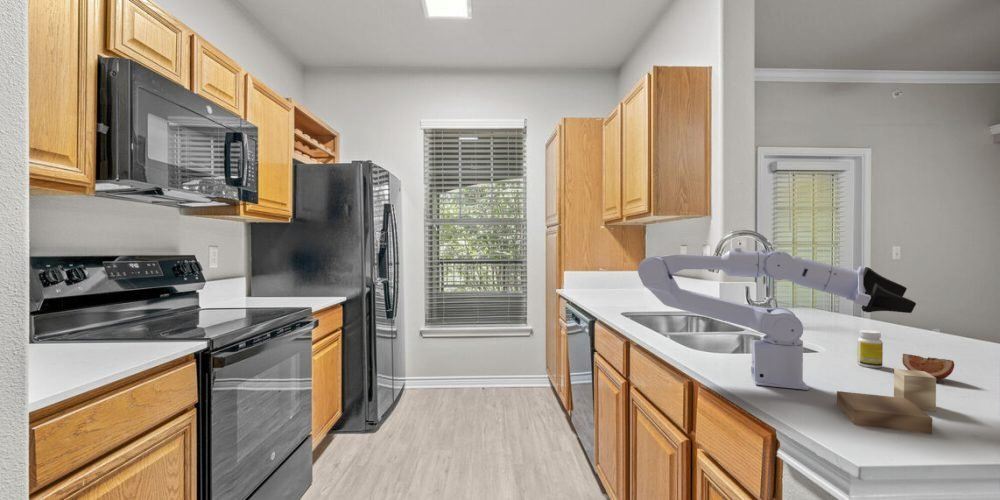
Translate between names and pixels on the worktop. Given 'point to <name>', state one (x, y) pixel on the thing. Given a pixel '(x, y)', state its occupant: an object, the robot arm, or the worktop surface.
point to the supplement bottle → (870, 349)
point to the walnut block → (884, 412)
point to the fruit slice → (929, 365)
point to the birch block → (916, 388)
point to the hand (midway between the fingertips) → (908, 299)
